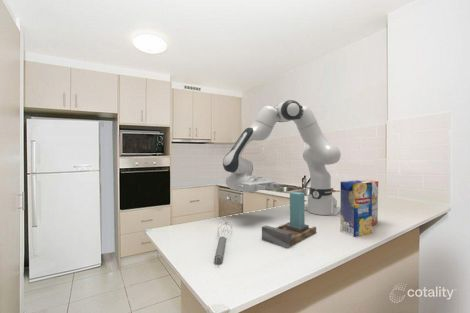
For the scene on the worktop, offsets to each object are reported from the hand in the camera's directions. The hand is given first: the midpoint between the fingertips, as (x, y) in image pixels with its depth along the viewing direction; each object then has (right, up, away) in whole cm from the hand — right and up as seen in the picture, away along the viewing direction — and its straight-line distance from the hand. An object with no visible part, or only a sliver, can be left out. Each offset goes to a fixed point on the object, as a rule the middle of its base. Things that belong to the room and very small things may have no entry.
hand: (271, 187), depth 107 cm
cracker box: (+46, -18, +1) cm, 49 cm away
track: (+6, -19, -13) cm, 23 cm away
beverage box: (+35, -19, -9) cm, 41 cm away
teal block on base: (+10, -17, -9) cm, 21 cm away
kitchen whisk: (-22, -19, -21) cm, 36 cm away
